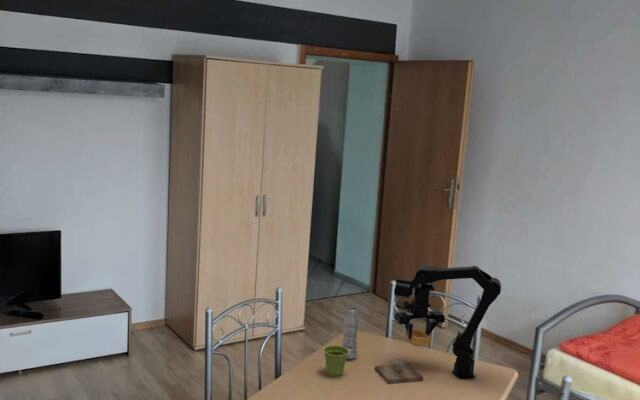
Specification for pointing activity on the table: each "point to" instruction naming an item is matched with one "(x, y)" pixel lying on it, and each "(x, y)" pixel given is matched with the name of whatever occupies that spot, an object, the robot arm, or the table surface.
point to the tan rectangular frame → (419, 338)
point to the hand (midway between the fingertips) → (417, 338)
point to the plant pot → (335, 359)
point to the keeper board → (398, 372)
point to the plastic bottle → (351, 332)
